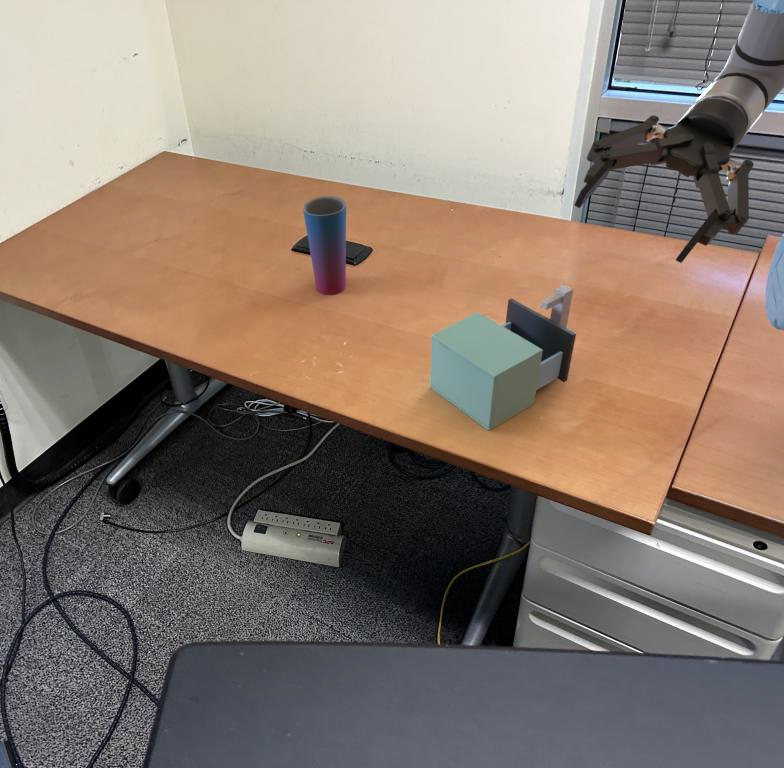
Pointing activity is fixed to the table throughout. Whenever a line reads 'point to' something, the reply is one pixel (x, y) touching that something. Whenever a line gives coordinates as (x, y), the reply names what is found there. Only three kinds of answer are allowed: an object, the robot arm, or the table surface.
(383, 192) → the table surface
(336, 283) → the cup
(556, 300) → the dark grey drawer
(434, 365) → the box
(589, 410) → the table surface
